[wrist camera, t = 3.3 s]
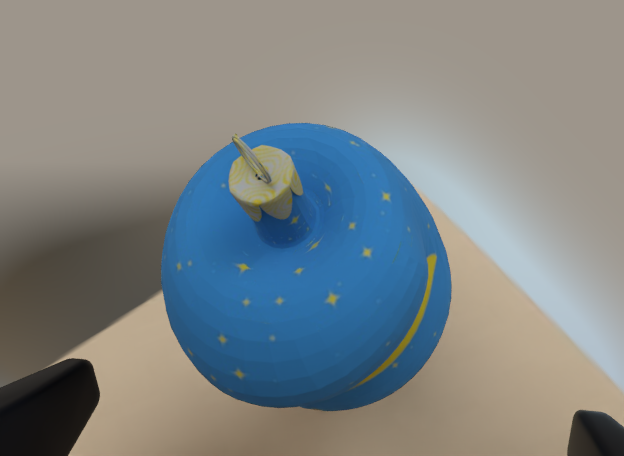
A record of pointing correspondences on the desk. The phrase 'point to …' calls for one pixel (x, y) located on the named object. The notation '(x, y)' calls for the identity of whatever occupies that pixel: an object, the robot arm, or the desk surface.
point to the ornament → (304, 271)
